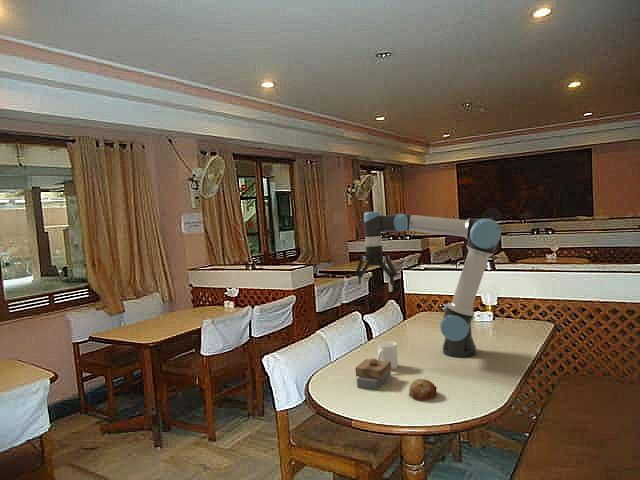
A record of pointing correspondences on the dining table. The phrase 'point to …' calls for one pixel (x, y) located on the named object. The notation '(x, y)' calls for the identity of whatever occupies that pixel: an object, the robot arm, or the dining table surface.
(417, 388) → the bread roll
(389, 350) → the mug
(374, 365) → the lid
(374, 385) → the grey flat block
